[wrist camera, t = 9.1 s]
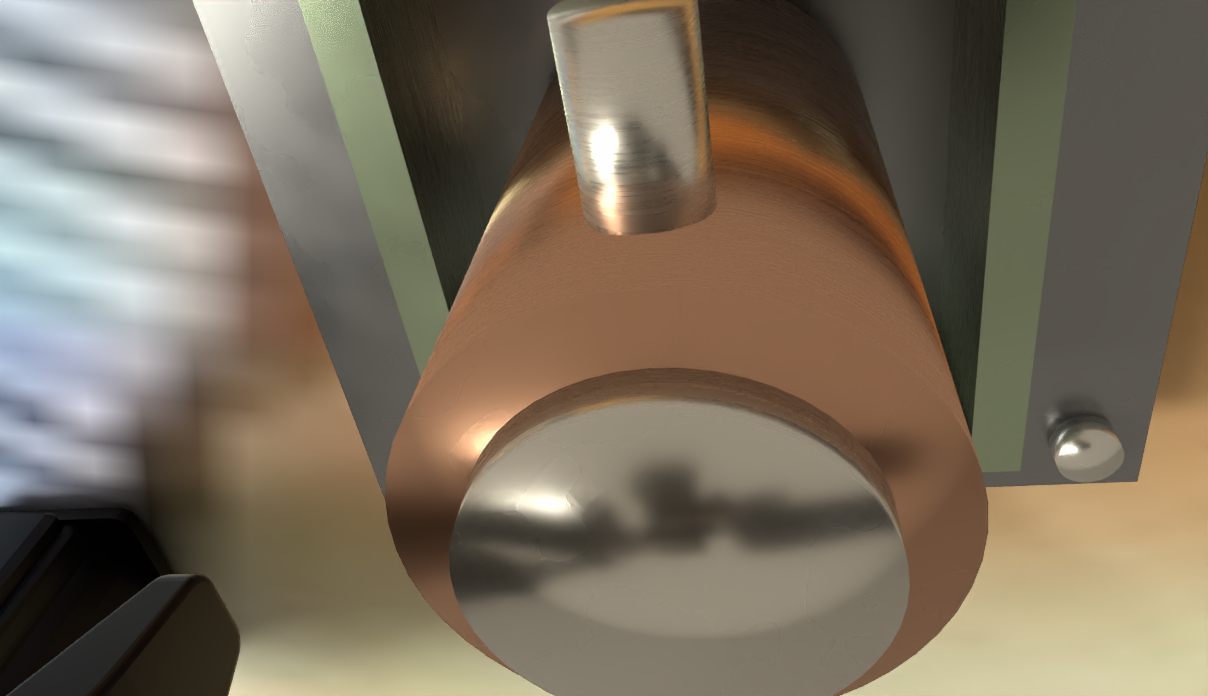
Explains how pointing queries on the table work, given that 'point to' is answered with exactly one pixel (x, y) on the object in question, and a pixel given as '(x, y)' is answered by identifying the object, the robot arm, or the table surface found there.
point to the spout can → (691, 380)
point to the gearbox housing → (906, 140)
